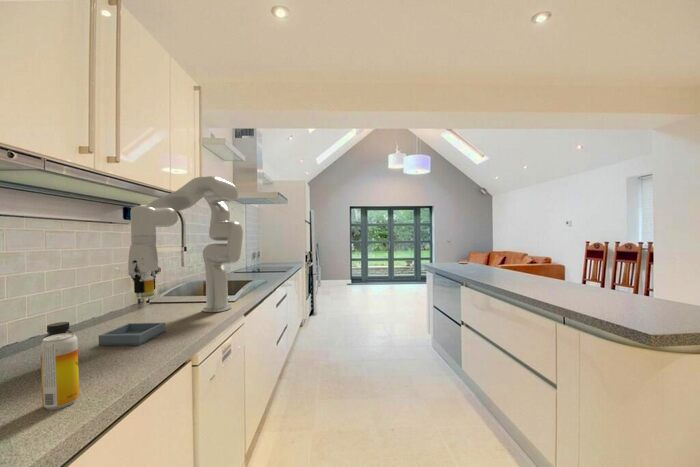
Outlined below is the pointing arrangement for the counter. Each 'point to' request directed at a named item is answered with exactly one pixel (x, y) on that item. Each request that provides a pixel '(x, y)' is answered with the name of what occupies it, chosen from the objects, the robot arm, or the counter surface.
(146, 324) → the tray
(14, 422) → the counter surface
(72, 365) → the pill bottle
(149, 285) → the supplement bottle
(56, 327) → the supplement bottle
